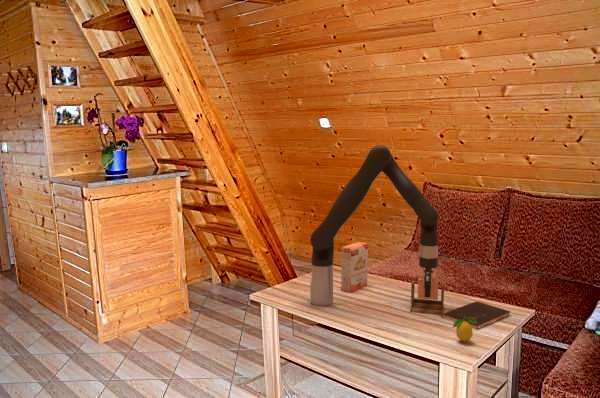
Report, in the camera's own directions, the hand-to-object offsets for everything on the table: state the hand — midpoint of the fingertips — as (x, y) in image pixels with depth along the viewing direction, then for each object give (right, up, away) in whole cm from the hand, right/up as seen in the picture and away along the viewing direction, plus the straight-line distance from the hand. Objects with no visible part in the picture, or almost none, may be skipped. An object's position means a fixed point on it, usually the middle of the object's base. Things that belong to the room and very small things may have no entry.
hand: (427, 295), depth 211 cm
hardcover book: (+17, -8, -8) cm, 21 cm away
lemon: (+5, -10, -32) cm, 34 cm away
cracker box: (-27, -2, +28) cm, 39 cm away
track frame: (0, -6, +1) cm, 6 cm away
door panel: (0, -1, 0) cm, 1 cm away
